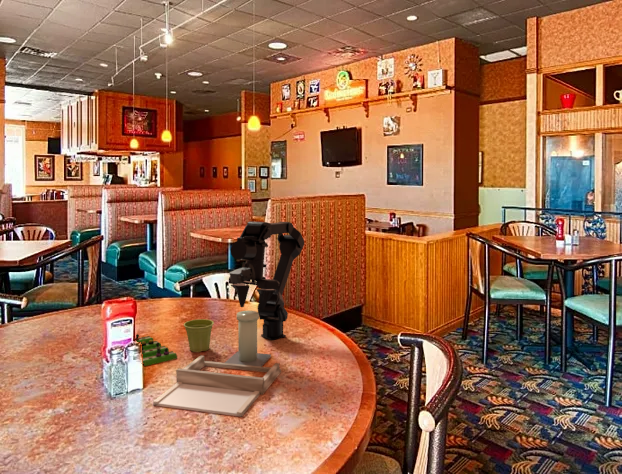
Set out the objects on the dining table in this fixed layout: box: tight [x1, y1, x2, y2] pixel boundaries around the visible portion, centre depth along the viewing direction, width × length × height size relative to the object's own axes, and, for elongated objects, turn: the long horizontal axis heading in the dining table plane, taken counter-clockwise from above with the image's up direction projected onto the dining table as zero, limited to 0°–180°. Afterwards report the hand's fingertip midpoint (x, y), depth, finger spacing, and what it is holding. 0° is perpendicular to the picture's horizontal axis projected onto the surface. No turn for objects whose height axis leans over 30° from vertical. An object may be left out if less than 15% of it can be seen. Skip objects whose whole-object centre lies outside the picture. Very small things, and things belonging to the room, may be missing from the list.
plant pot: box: [183, 318, 215, 353], centre depth 160 cm, size 9×9×9 cm
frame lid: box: [152, 381, 260, 418], centre depth 124 cm, size 12×23×1 cm, turn 76°
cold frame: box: [175, 355, 282, 395], centre depth 138 cm, size 15×24×4 cm, turn 76°
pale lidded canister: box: [236, 310, 260, 362], centre depth 150 cm, size 7×7×14 cm
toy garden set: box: [134, 333, 178, 367], centre depth 155 cm, size 23×19×5 cm
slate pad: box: [224, 350, 272, 367], centre depth 150 cm, size 11×11×1 cm
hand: (251, 309), depth 160 cm, fingers open, 9 cm apart
